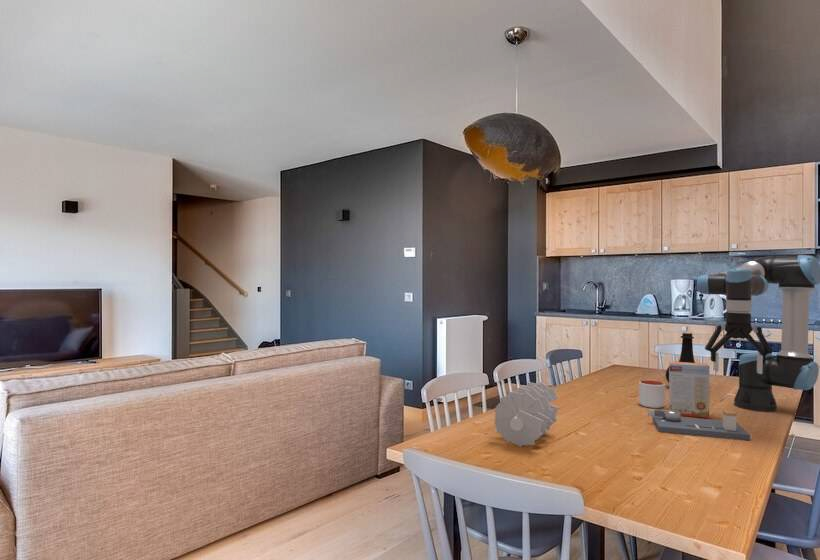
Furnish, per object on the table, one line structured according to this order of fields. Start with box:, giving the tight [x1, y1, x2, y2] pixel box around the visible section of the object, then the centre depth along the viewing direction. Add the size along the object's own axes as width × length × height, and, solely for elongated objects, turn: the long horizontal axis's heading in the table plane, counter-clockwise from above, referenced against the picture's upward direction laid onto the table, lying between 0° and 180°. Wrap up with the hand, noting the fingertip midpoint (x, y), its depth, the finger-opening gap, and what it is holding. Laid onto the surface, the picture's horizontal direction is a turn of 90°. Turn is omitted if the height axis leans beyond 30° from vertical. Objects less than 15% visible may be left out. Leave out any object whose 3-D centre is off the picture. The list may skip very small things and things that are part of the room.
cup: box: [638, 379, 666, 409], centre depth 215 cm, size 10×10×10 cm
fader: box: [722, 409, 738, 431], centre depth 175 cm, size 3×4×6 cm
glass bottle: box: [665, 332, 696, 384], centre depth 248 cm, size 18×18×28 cm
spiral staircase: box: [493, 381, 559, 448], centre depth 170 cm, size 18×18×25 cm
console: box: [651, 416, 751, 441], centre depth 181 cm, size 28×16×2 cm, turn 72°
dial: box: [647, 408, 682, 422], centre depth 187 cm, size 11×6×3 cm, turn 72°
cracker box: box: [668, 361, 710, 419], centre depth 201 cm, size 14×6×21 cm, turn 65°
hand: (737, 372), depth 177 cm, fingers open, 13 cm apart
